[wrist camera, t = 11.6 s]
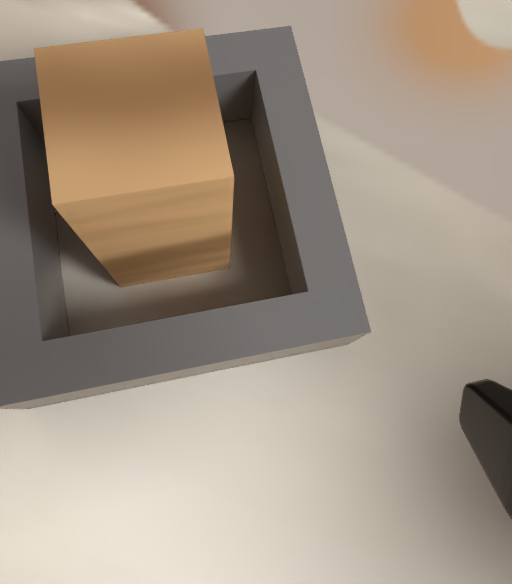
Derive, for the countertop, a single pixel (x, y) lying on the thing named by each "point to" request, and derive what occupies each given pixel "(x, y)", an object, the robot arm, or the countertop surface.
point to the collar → (190, 327)
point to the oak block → (139, 153)
